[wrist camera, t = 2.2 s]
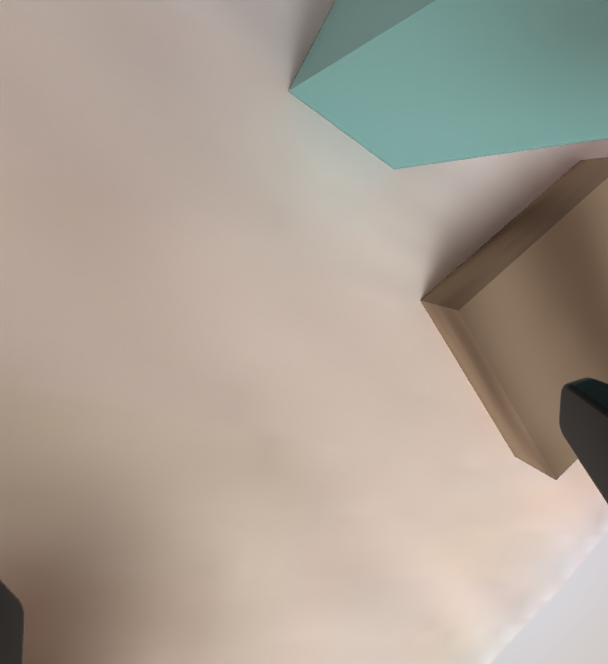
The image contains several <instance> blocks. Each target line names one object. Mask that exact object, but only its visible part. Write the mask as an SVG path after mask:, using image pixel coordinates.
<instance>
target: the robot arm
mask: <svg viewBox="0 0 608 664" xmlns="http://www.w3.org/2000/svg"><path fill="white" fill-rule="evenodd" d="M559 425H560V429H561V432H562V434H563V436H564V438H565V439H566V441H567V442H568V444H569V445H570V447H571V448H572V450H573V452H574V453H575V455H576V456H577V458H578V459H579V461H580V462H581V464H582V465H583V467H584V468H585V470H586V471H587V473H588V474H589V476H590V478H591V479H592V481H593V482H594V484H595V485H596V487H597V488H598V490H599V491H600V493H601V494H602V496H603V497H604V499H605V500H606V502H607V504H608V383H605V382H602V381H600V380H597V379H594V378H589V377H586V378H581V379H578V380H575V381H572V382H569V383H566V384H565V385H563V387H562V389H561V395H560V411H559ZM23 636H24V611H23V607H22V605H21V603H20V601H19V599H18V598H17V597H16V596H15V595H14V594H13V593H12V592H11V591H10V590H9V589H8V588H7V587H6V585H5V584H4V583H3V582H2V581H1V580H0V664H22V661H23Z"/></svg>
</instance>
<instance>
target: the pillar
mask: <svg viewBox="0 0 608 664" xmlns="http://www.w3.org/2000/svg"><path fill="white" fill-rule="evenodd" d="M289 92H290V93H291V94H293V95H294V96H296V97H297V98H298V99H300V100H301V101H302V102H304V103H305V104H306V105H308V106H309V107H310V108H312V109H313V110H315V111H316V112H317V113H319V114H320V115H321V116H323V117H324V118H325V119H327V120H328V121H329V122H331V123H332V124H334V125H335V126H336V127H338V128H339V129H340V130H342V131H343V132H344V133H346V134H347V135H348V136H350V137H351V138H352V139H354V140H355V141H357V142H358V143H359V144H361V145H362V146H363V147H365V148H366V149H367V150H369V151H370V152H371V153H373V154H374V155H376V156H377V157H378V158H380V159H381V160H382V161H384V162H385V163H386V164H388V165H389V166H390V167H392V168H393V169H400V168H406V167H413V166H420V165H427V164H434V163H441V162H448V161H455V160H462V159H469V158H476V157H483V156H490V155H497V154H504V153H511V152H518V151H524V150H531V149H538V148H545V147H552V146H559V145H566V144H573V143H580V142H587V141H594V140H601V139H608V0H335V2H334V4H333V6H332V8H331V10H330V12H329V14H328V16H327V18H326V20H325V21H324V23H323V25H322V27H321V29H320V31H319V33H318V35H317V37H316V39H315V41H314V43H313V45H312V47H311V48H310V50H309V52H308V54H307V56H306V58H305V60H304V62H303V64H302V66H301V68H300V70H299V72H298V73H297V75H296V77H295V79H294V81H293V83H292V85H291V87H290V89H289Z"/></svg>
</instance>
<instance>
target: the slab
mask: <svg viewBox="0 0 608 664" xmlns="http://www.w3.org/2000/svg"><path fill="white" fill-rule="evenodd" d="M420 301H421V302H422V304H423V306H424V307H425V309H426V311H427V312H428V314H429V315H430V317H431V319H432V320H433V322H434V324H435V325H436V327H437V329H438V330H439V332H440V334H441V335H442V337H443V339H444V340H445V342H446V344H447V345H448V347H449V349H450V350H451V352H452V353H453V355H454V357H455V358H456V360H457V362H458V363H459V365H460V367H461V368H462V370H463V372H464V373H465V375H466V377H467V378H468V380H469V382H470V383H471V385H472V386H473V388H474V390H475V391H476V393H477V395H478V396H479V398H480V400H481V401H482V403H483V405H484V406H485V408H486V410H487V411H488V413H489V415H490V416H491V418H492V419H493V421H494V423H495V424H496V426H497V428H498V429H499V431H500V433H501V434H502V436H503V438H504V439H505V441H506V443H507V444H508V446H509V448H510V449H511V451H512V452H513V454H514V456H515V457H517V458H519V459H520V460H522V461H524V462H526V463H527V464H529V465H531V466H533V467H534V468H536V469H538V470H539V471H541V472H543V473H545V474H546V475H548V476H550V477H552V478H553V479H555V480H557V479H558V478H559V477H560V476H561V475H562V474H563V473H564V472H565V471H566V470H567V469H568V468H569V467H570V466H571V465H572V464H573V463H574V462H575V461H576V460H577V459H578V458H577V456H576V455H575V453H574V452H573V450H572V448H571V447H570V445H569V444H568V442H567V441H566V439H565V438H564V436H563V434H562V432H561V429H560V425H559V411H560V395H561V389H562V387H563V385H565V384H566V383H569V382H572V381H575V380H578V379H581V378H586V377H589V378H594V379H597V380H600V381H602V382H605V383H608V157H607V158H598V159H589V160H580V161H579V162H578V163H577V164H576V165H575V166H574V167H572V168H571V169H570V170H569V171H568V172H567V173H566V174H564V175H563V176H562V177H561V178H560V179H559V180H558V181H556V182H555V183H554V184H553V185H552V186H551V187H550V188H548V189H547V190H546V191H545V192H544V193H543V194H542V195H540V196H539V197H538V198H537V199H536V200H535V201H534V202H532V203H531V204H530V205H529V206H528V207H527V208H526V209H524V210H523V211H522V212H521V213H520V214H519V215H518V216H516V217H515V218H514V219H513V220H512V221H511V222H510V223H508V224H507V225H506V226H505V227H504V228H503V229H502V230H500V231H499V232H498V233H497V234H496V235H495V236H494V237H492V238H491V239H490V240H489V241H488V242H487V243H486V244H484V245H483V246H482V247H481V248H480V249H479V250H478V251H476V252H475V253H474V254H473V255H472V256H471V257H470V258H468V259H467V260H466V261H465V262H464V263H463V264H462V265H460V266H459V267H458V268H457V269H456V270H455V271H454V272H452V273H451V274H450V275H449V276H448V277H447V278H446V279H444V280H443V281H442V282H441V283H440V284H439V285H438V286H436V287H435V288H434V289H433V290H432V291H431V292H430V293H428V294H427V295H426V296H425V297H424V298H423V299H422V300H420Z"/></svg>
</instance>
